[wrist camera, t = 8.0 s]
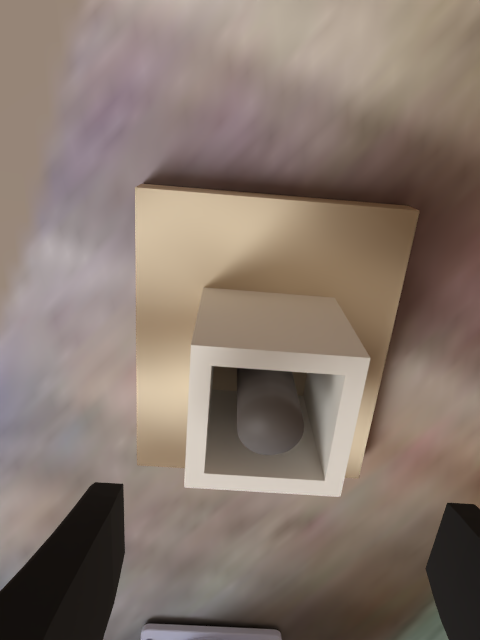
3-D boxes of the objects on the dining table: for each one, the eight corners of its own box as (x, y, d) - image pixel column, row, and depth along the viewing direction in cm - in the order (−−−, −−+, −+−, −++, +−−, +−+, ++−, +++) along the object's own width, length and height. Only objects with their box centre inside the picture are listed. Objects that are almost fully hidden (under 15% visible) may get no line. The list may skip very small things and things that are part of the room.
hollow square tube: (315, 408, 19) (340, 496, 15) (196, 400, 19) (184, 487, 14) (334, 297, 17) (370, 358, 13) (203, 287, 17) (190, 345, 12)
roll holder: (352, 460, 22) (393, 578, 16) (142, 448, 21) (107, 563, 16) (407, 205, 17) (493, 242, 11) (141, 183, 17) (92, 210, 11)
